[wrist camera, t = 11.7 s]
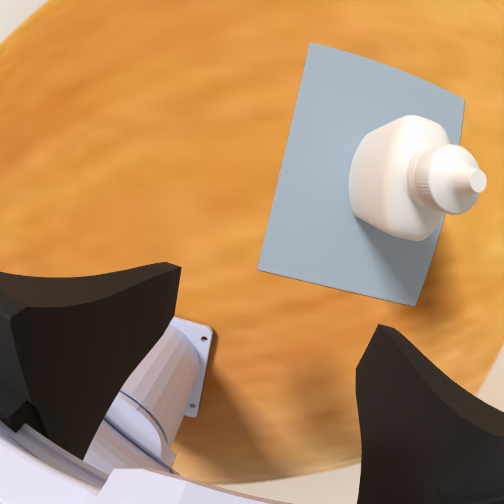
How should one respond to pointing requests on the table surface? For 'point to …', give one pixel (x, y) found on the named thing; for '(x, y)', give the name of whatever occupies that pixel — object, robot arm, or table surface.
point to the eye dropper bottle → (412, 178)
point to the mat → (337, 178)
